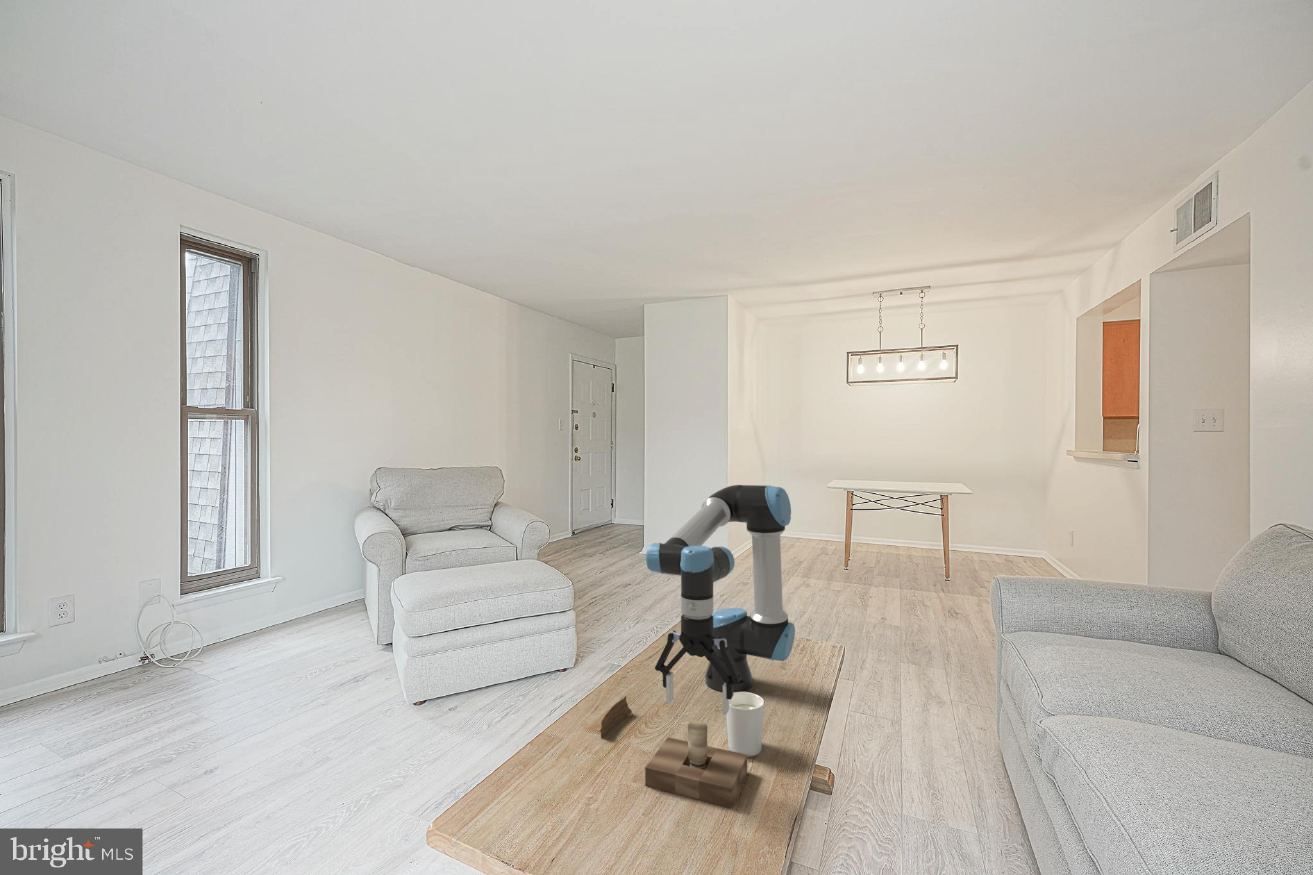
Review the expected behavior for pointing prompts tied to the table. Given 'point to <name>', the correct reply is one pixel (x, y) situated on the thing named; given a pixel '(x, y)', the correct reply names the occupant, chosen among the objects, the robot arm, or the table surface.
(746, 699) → the candle holder
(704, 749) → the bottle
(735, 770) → the wooden block with hole
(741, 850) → the table surface
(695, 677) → the table surface
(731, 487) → the robot arm
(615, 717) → the wood plank
